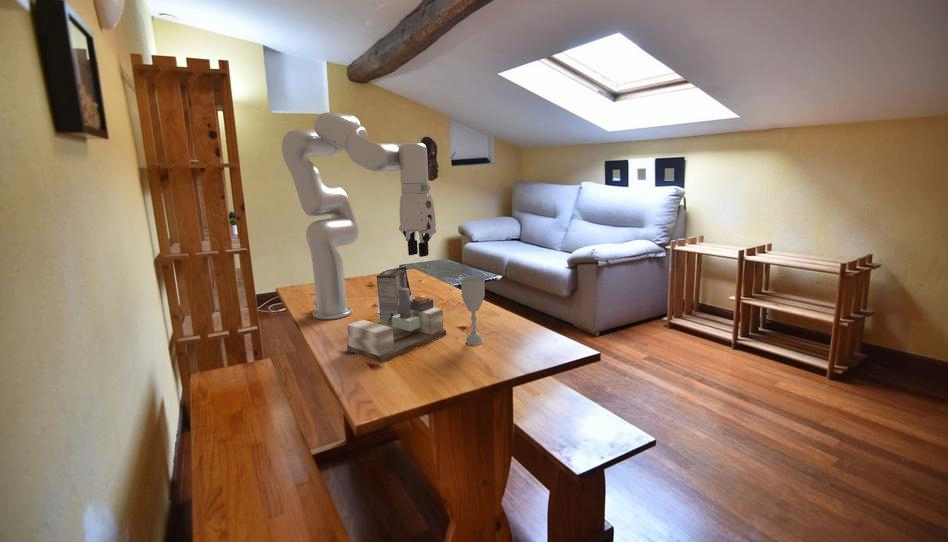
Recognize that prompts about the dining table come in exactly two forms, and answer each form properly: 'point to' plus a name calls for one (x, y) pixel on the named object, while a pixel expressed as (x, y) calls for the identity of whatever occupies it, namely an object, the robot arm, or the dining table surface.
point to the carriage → (405, 313)
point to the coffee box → (390, 294)
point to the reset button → (420, 298)
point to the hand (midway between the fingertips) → (418, 254)
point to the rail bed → (396, 334)
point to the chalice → (473, 302)
